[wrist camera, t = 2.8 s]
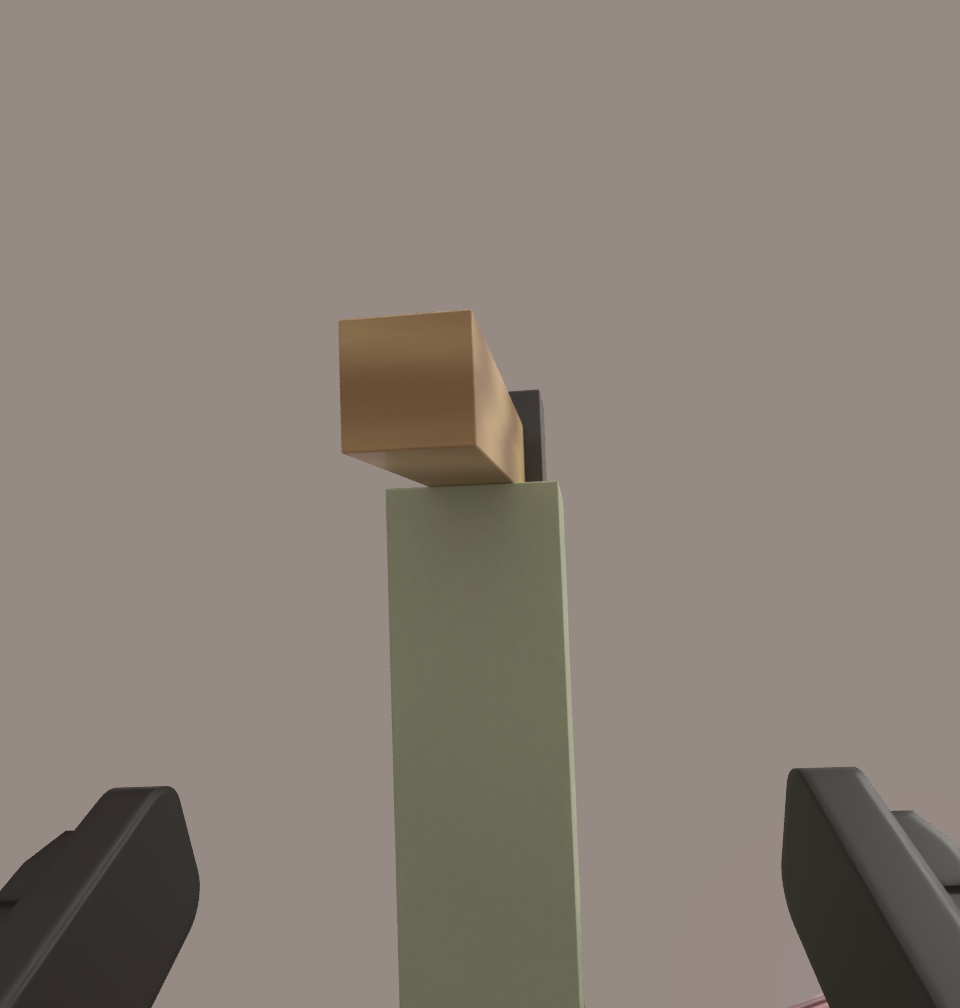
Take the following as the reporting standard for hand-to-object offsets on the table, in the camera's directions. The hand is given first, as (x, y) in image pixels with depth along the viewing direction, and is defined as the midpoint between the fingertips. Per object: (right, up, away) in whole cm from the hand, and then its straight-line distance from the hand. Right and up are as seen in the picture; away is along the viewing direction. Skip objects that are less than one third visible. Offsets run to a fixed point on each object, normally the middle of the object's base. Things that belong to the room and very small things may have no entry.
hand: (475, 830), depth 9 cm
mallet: (0, +5, +15) cm, 16 cm away
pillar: (+2, -27, +18) cm, 33 cm away
